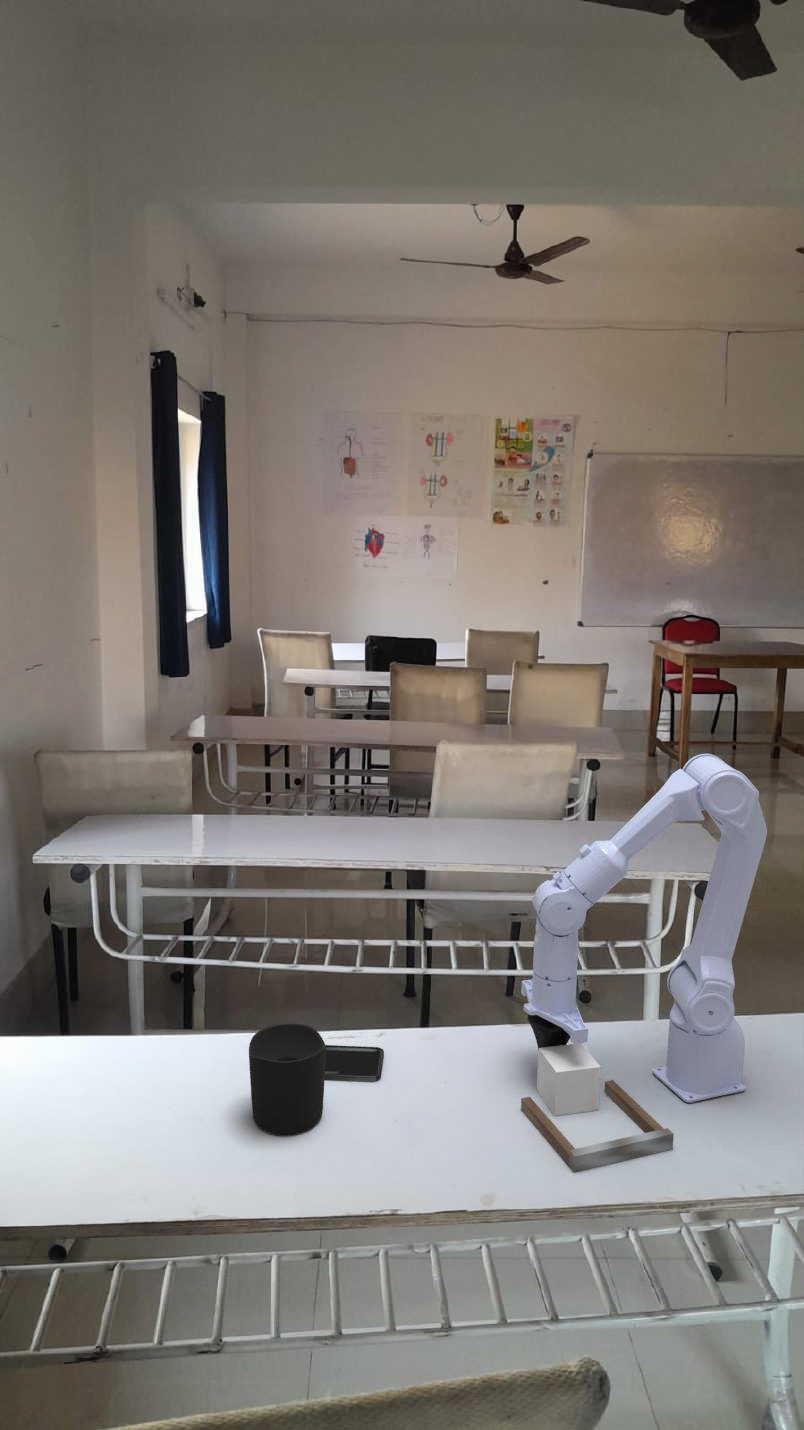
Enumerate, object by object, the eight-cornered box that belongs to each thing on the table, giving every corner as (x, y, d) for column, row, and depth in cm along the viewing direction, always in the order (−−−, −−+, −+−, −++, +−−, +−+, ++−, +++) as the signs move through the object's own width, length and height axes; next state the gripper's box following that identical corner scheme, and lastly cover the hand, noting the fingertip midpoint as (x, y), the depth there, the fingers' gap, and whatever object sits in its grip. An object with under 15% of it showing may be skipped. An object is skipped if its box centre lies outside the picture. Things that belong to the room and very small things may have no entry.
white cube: (598, 1110, 123) (601, 1067, 122) (554, 1116, 121) (556, 1072, 120) (578, 1084, 128) (581, 1042, 127) (536, 1089, 127) (538, 1047, 126)
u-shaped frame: (612, 1090, 127) (613, 1076, 127) (672, 1149, 115) (673, 1133, 115) (520, 1109, 123) (521, 1094, 122) (573, 1172, 110) (574, 1156, 110)
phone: (278, 1043, 136) (384, 1047, 136) (278, 1050, 137) (384, 1054, 136) (268, 1073, 129) (380, 1077, 128) (268, 1081, 129) (380, 1085, 128)
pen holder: (339, 1106, 123) (339, 1033, 121) (301, 1147, 114) (300, 1069, 112) (275, 1088, 126) (275, 1017, 125) (234, 1126, 118) (233, 1051, 116)
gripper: (503, 953, 132) (499, 1045, 134) (554, 1000, 118) (549, 1102, 121) (549, 947, 134) (544, 1037, 137) (604, 992, 121) (598, 1092, 123)
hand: (550, 1067), depth 129 cm, fingers closed
